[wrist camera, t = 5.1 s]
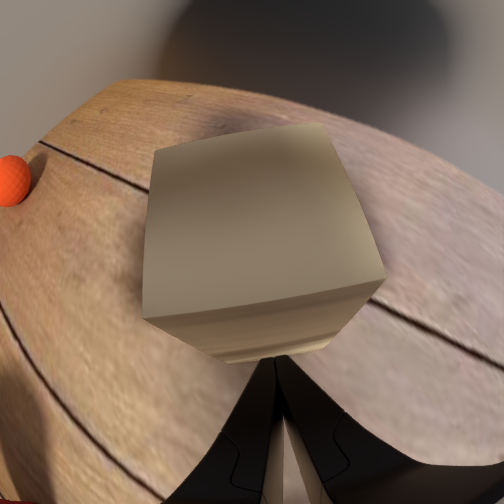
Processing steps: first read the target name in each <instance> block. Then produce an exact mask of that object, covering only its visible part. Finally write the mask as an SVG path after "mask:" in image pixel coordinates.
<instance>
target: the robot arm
mask: <svg viewBox="0 0 504 504" xmlns="http://www.w3.org/2000/svg"><path fill="white" fill-rule="evenodd" d="M282 411H283V412H282ZM283 416H284V421H285V424H286V428H287V431H288V434H289V437H290V441H291V444H292V447H293V450H294V453H295V456H296V460H297V463H298V466H299V469H300V472H301V475H302V478H303V481H304V484H305V488H306V491H307V494H308V497H309V500H310V503H311V504H504V461H503V462H500V463H497V464H493V465H487V466H447V465H431V464H426V463H422V462H419V461H416V460H414V459H412V458H410V457H408V456H407V455H405V454H403V453H402V452H400V451H398V450H397V449H395V448H394V447H392V446H390V445H389V444H387V443H386V442H384V441H383V440H381V439H380V438H378V437H377V436H375V435H374V434H372V433H371V432H369V431H368V430H367V429H365V428H364V427H363V426H362V425H360V424H359V423H358V422H357V421H356V420H354V419H353V418H352V417H351V416H350V415H349V414H348V413H347V412H345V411H344V409H342V408H341V407H340V406H339V405H338V404H337V403H336V402H335V401H334V400H333V399H332V398H331V397H330V396H329V395H328V394H327V393H326V392H325V391H324V390H322V389H321V388H320V387H319V386H318V385H317V384H316V383H315V382H314V381H313V380H312V379H311V378H310V377H309V376H308V375H307V374H306V373H305V372H304V371H303V370H302V369H301V368H300V367H299V366H298V365H297V364H296V363H295V362H294V361H293V360H292V359H291V358H290V357H289V356H288V355H286V354H284V355H278V356H275V357H274V358H273V357H266V358H261V359H260V361H259V363H258V365H257V366H256V368H255V370H254V372H253V374H252V376H251V378H250V380H249V381H248V383H247V385H246V387H245V389H244V391H243V392H242V394H241V396H240V398H239V400H238V402H237V403H236V405H235V407H234V409H233V410H232V412H231V414H230V416H229V417H228V419H227V421H226V423H225V424H224V426H223V428H222V430H221V431H222V432H220V433H219V434H218V436H217V438H216V440H215V441H214V443H213V444H212V446H211V447H210V449H209V450H208V452H207V453H206V455H205V456H204V457H203V459H202V460H201V461H200V462H199V464H198V465H197V466H196V467H195V468H194V470H193V471H192V472H191V473H190V474H189V475H188V477H187V478H186V479H185V480H184V481H183V482H182V483H181V485H180V486H179V487H178V488H177V489H176V490H175V491H174V492H173V493H172V494H171V495H170V496H169V497H168V498H167V499H166V500H165V501H163V502H162V503H160V504H283V455H284V423H283Z"/></svg>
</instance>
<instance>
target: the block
mask: <svg viewBox="0 0 504 504" xmlns="http://www.w3.org/2000/svg"><path fill="white" fill-rule="evenodd" d="M386 279H387V275H386V272H385V269H384V266H383V263H382V260H381V257H380V254H379V252H378V249H377V246H376V243H375V241H374V238H373V235H372V233H371V230H370V228H369V225H368V222H367V220H366V217H365V215H364V212H363V210H362V208H361V205H360V203H359V200H358V198H357V196H356V193H355V191H354V189H353V187H352V184H351V182H350V180H349V178H348V176H347V173H346V171H345V169H344V167H343V165H342V163H341V161H340V159H339V157H338V155H337V153H336V150H335V148H334V146H333V145H332V143H331V141H330V139H329V137H328V135H327V133H326V131H325V129H324V127H323V125H322V123H321V122H316V123H305V124H295V125H286V126H278V127H270V128H263V129H256V130H250V131H244V132H238V133H232V134H227V135H221V136H216V137H211V138H206V139H201V140H197V141H192V142H188V143H184V144H179V145H175V146H171V147H167V148H163V149H160V150H156V151H155V153H154V159H153V166H152V173H151V181H150V189H149V198H148V207H147V217H146V229H145V243H144V260H143V289H142V318H143V319H144V320H146V321H148V322H149V323H151V324H153V325H155V326H156V327H158V328H160V329H162V330H163V331H165V332H167V333H169V334H171V335H172V336H174V337H176V338H178V339H180V340H182V341H183V342H185V343H187V344H189V345H191V346H193V347H195V348H197V349H199V350H201V351H203V352H205V353H207V354H209V355H211V356H213V357H215V358H217V359H219V360H221V361H223V362H225V363H227V364H236V363H244V362H251V361H258V360H260V359H261V358H266V357H273V358H274V357H275V356H278V355H284V354H286V355H288V356H289V355H294V354H300V353H305V352H310V351H315V350H320V349H323V348H324V347H325V346H326V345H327V344H328V343H329V342H330V341H331V340H332V339H333V338H334V337H335V335H336V334H337V333H338V332H339V331H340V330H341V329H342V328H343V327H344V326H345V325H346V324H347V323H348V322H349V321H350V320H351V319H352V318H353V316H354V315H355V314H356V313H357V312H358V311H359V310H360V309H361V308H362V307H363V305H364V304H365V303H366V302H367V301H368V300H369V299H370V297H371V296H372V295H373V294H374V293H375V292H376V290H377V289H378V288H379V287H380V286H381V285H382V283H383V282H384V281H385V280H386Z"/></svg>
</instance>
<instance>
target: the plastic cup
mask: <svg viewBox="0 0 504 504" xmlns="http://www.w3.org/2000/svg"><path fill="white" fill-rule="evenodd" d="M0 504H36V503H32V502H25V501H10V500H4V499H0Z"/></svg>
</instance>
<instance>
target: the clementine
mask: <svg viewBox="0 0 504 504" xmlns="http://www.w3.org/2000/svg"><path fill="white" fill-rule="evenodd" d="M30 183H31V173H30V169H29V167H28V165H27V163H26V162H25V161H24V160H23V159H22V158H21V157H18V156H12V155H9V156H6V157H3V158H1V159H0V206H3V207H12V206H14V205H16V204H18V203H20V202H21V201H22V200H23V199H24V197H25V196H26V194H27V193H28V190H29V187H30Z"/></svg>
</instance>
